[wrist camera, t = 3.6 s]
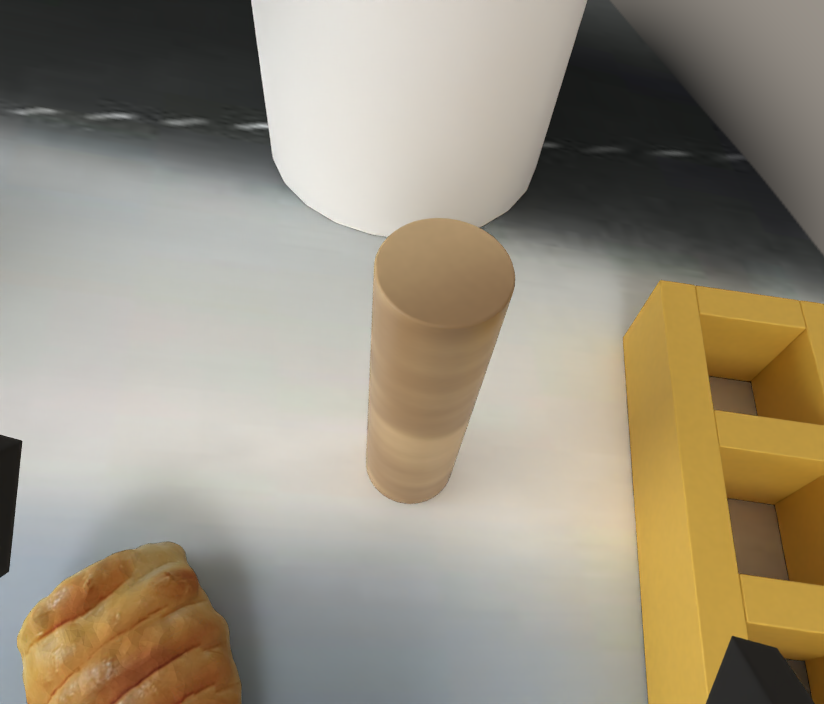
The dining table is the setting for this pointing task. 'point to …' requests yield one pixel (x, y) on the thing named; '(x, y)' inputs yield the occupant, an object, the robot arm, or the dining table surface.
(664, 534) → the yellow peg holder
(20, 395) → the dining table surface
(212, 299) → the dining table surface
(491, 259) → the peg
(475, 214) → the cylinder
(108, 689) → the pastry
